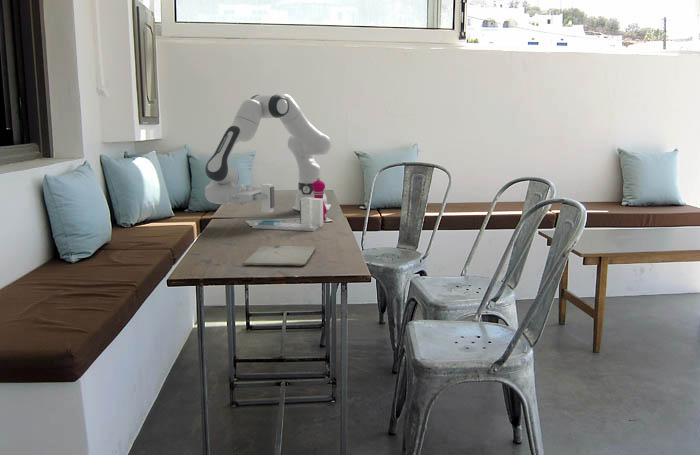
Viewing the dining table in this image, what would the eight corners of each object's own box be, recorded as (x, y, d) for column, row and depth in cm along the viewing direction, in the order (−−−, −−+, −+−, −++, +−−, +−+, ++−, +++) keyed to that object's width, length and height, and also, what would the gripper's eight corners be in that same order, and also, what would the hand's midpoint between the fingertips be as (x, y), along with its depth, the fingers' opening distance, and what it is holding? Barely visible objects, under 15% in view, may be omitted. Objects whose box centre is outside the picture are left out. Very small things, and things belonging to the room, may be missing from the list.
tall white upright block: (265, 210, 274) (264, 183, 272) (275, 211, 273) (274, 184, 271) (261, 212, 270) (260, 184, 268) (271, 212, 269) (270, 185, 267)
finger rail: (259, 224, 279) (258, 194, 276) (319, 227, 271) (318, 196, 269) (252, 228, 271) (251, 197, 269) (313, 231, 264) (312, 199, 261)
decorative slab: (259, 250, 231) (258, 244, 230) (316, 250, 230) (316, 244, 229) (243, 268, 204) (242, 262, 204) (307, 268, 203) (307, 262, 203)
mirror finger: (313, 224, 278) (313, 198, 276) (323, 225, 277) (323, 198, 275) (310, 226, 274) (310, 199, 272) (320, 226, 273) (320, 199, 271)
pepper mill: (327, 218, 293) (327, 176, 289) (325, 221, 286) (325, 178, 282) (312, 218, 294) (311, 176, 290) (310, 221, 287) (309, 178, 283)
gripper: (229, 190, 264) (259, 191, 260) (249, 185, 283) (277, 186, 279) (229, 205, 265) (259, 206, 261) (249, 198, 284) (278, 200, 280)
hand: (269, 195), depth 270 cm, fingers closed on tall white upright block, 4 cm apart
